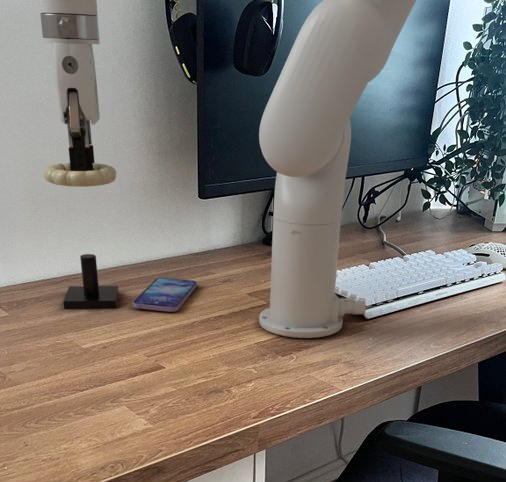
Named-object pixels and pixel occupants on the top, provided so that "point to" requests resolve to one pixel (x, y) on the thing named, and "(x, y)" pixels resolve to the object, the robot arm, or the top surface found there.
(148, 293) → the smartphone
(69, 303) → the peg stand
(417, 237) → the top surface
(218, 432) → the top surface
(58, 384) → the top surface
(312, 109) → the robot arm
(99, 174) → the segmented ring
